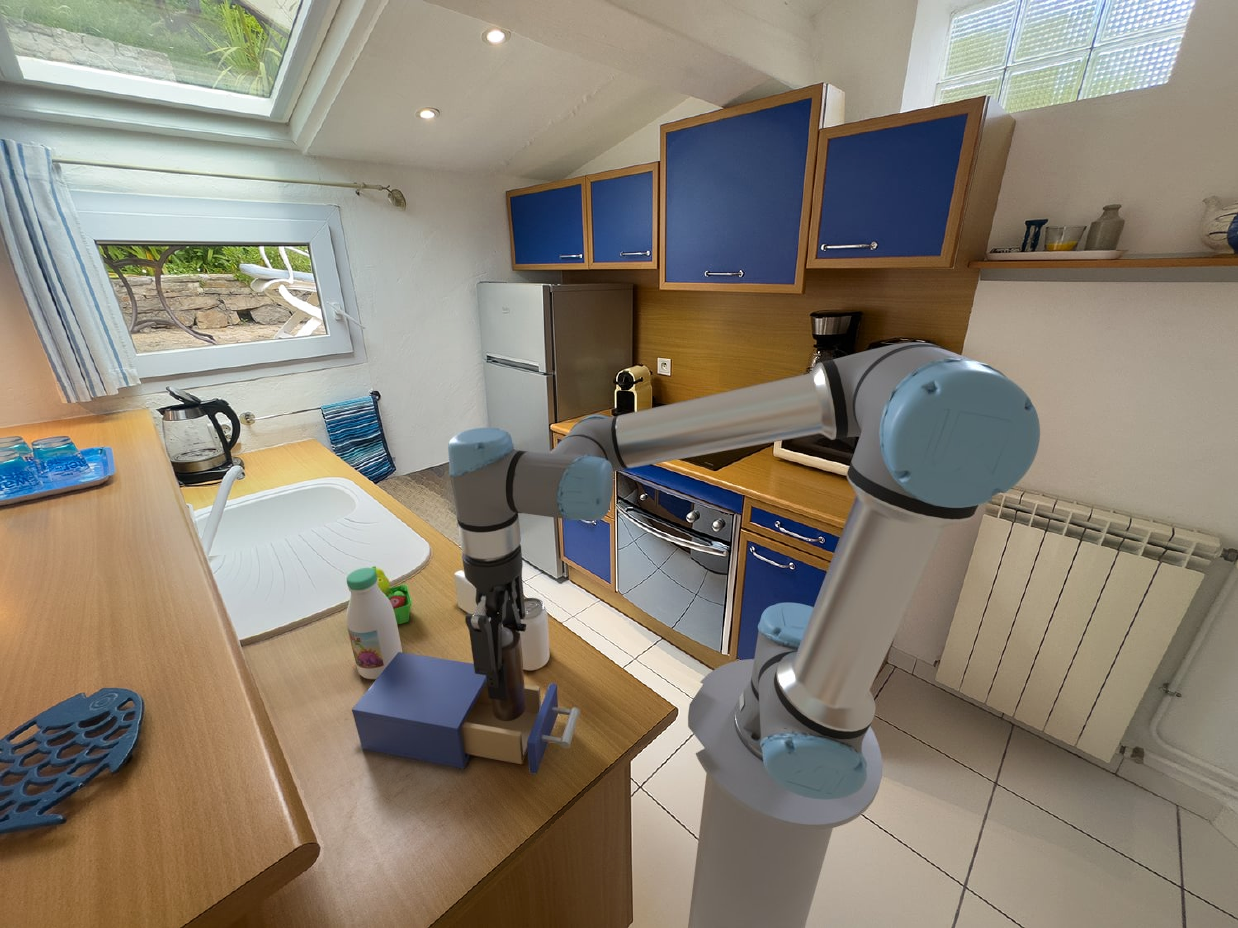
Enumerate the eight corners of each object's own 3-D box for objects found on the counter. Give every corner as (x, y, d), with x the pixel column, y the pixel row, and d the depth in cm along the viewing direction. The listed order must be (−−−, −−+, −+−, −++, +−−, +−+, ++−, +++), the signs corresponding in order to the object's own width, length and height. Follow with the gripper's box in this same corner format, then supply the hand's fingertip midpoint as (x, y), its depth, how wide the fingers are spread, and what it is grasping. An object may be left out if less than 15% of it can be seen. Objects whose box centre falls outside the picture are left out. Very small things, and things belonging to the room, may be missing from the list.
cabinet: (496, 703, 84) (492, 666, 80) (463, 768, 73) (457, 728, 70) (406, 688, 86) (398, 651, 83) (362, 748, 76) (351, 709, 72)
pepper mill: (531, 696, 77) (524, 620, 71) (519, 723, 72) (510, 644, 66) (500, 691, 77) (491, 615, 72) (487, 718, 73) (476, 640, 67)
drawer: (583, 717, 80) (583, 688, 78) (565, 779, 71) (564, 748, 68) (469, 698, 83) (465, 669, 81) (437, 755, 74) (432, 724, 71)
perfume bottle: (488, 617, 104) (483, 569, 99) (481, 622, 102) (475, 574, 97) (465, 601, 108) (459, 555, 103) (457, 606, 107) (451, 559, 102)
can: (507, 661, 92) (502, 610, 88) (532, 641, 97) (528, 591, 93) (533, 677, 89) (529, 624, 84) (556, 655, 94) (554, 604, 89)
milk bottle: (388, 643, 96) (370, 556, 88) (412, 660, 92) (395, 571, 84) (349, 667, 90) (326, 577, 83) (372, 687, 86) (350, 594, 79)
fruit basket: (354, 642, 96) (342, 595, 92) (351, 616, 103) (340, 571, 99) (416, 623, 101) (407, 578, 97) (409, 599, 109) (401, 556, 104)
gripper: (492, 511, 73) (506, 636, 82) (427, 585, 56) (453, 730, 65) (541, 516, 71) (549, 642, 80) (489, 592, 55) (507, 740, 64)
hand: (506, 681), depth 73 cm, fingers closed on pepper mill, 5 cm apart
